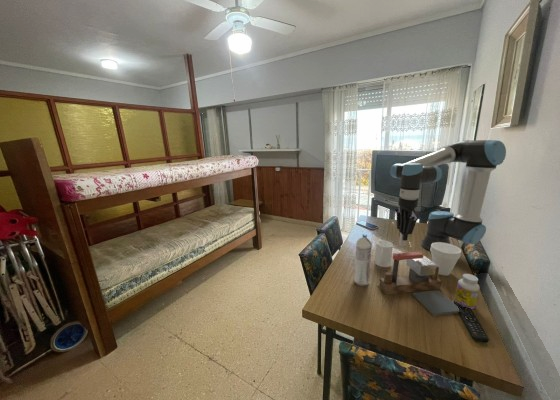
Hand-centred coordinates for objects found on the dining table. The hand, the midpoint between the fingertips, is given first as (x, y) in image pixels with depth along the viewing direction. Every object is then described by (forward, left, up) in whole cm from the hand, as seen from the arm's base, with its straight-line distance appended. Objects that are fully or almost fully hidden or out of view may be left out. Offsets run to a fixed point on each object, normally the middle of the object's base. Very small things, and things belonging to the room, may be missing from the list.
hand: (402, 245), depth 105 cm
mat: (-4, +19, -17) cm, 26 cm away
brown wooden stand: (0, +8, -17) cm, 19 cm away
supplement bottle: (-15, +21, -18) cm, 31 cm away
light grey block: (-4, +8, -8) cm, 12 cm away
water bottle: (+20, +1, -18) cm, 27 cm away
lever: (+3, +8, -2) cm, 9 cm away
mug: (+2, -12, -18) cm, 22 cm away
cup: (-24, -1, -18) cm, 30 cm away
